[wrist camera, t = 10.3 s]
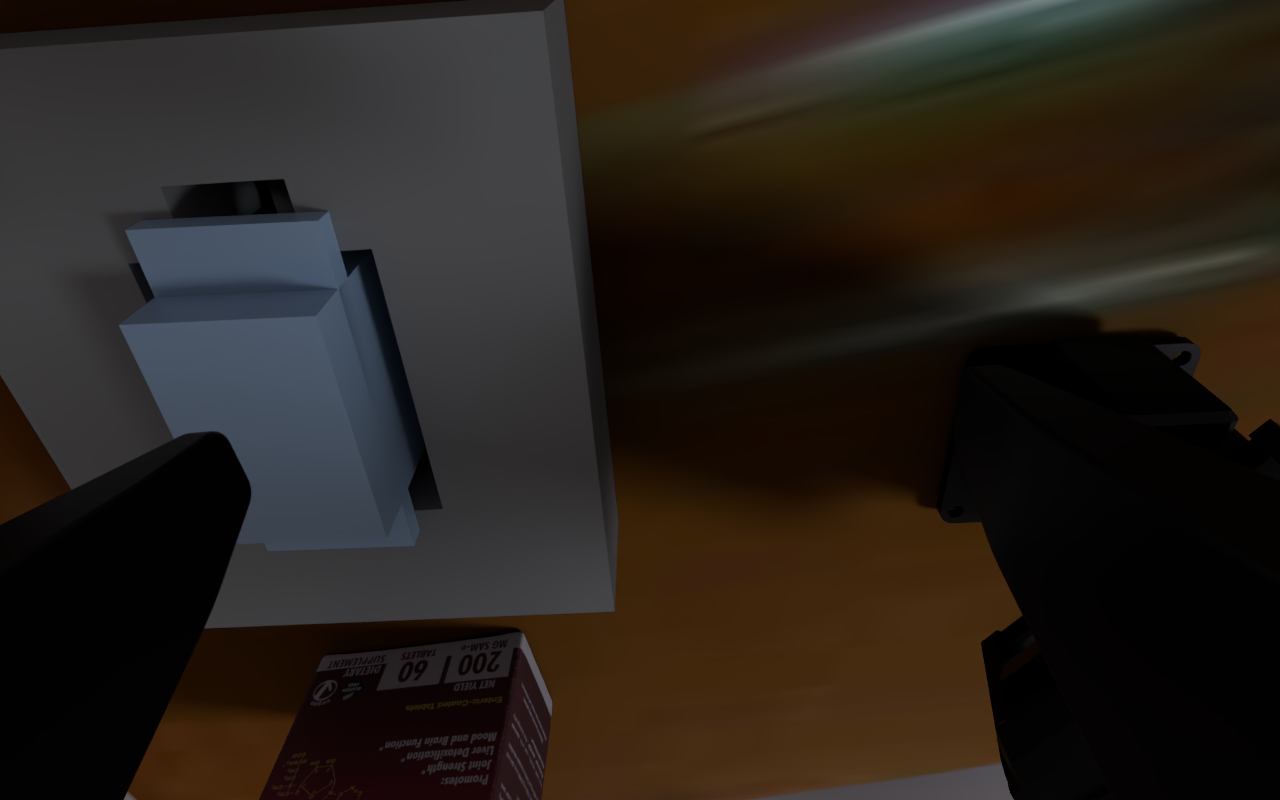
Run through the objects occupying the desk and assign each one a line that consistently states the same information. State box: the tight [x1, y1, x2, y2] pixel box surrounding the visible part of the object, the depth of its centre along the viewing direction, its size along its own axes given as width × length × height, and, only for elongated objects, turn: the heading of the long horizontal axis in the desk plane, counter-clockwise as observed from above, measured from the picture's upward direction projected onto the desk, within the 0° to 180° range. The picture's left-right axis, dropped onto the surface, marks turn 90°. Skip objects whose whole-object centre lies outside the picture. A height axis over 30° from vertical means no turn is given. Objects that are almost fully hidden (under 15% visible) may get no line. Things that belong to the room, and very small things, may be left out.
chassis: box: [0, 0, 618, 628], centre depth 20 cm, size 16×14×4 cm
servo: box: [119, 179, 426, 551], centre depth 19 cm, size 9×4×6 cm, turn 3°
